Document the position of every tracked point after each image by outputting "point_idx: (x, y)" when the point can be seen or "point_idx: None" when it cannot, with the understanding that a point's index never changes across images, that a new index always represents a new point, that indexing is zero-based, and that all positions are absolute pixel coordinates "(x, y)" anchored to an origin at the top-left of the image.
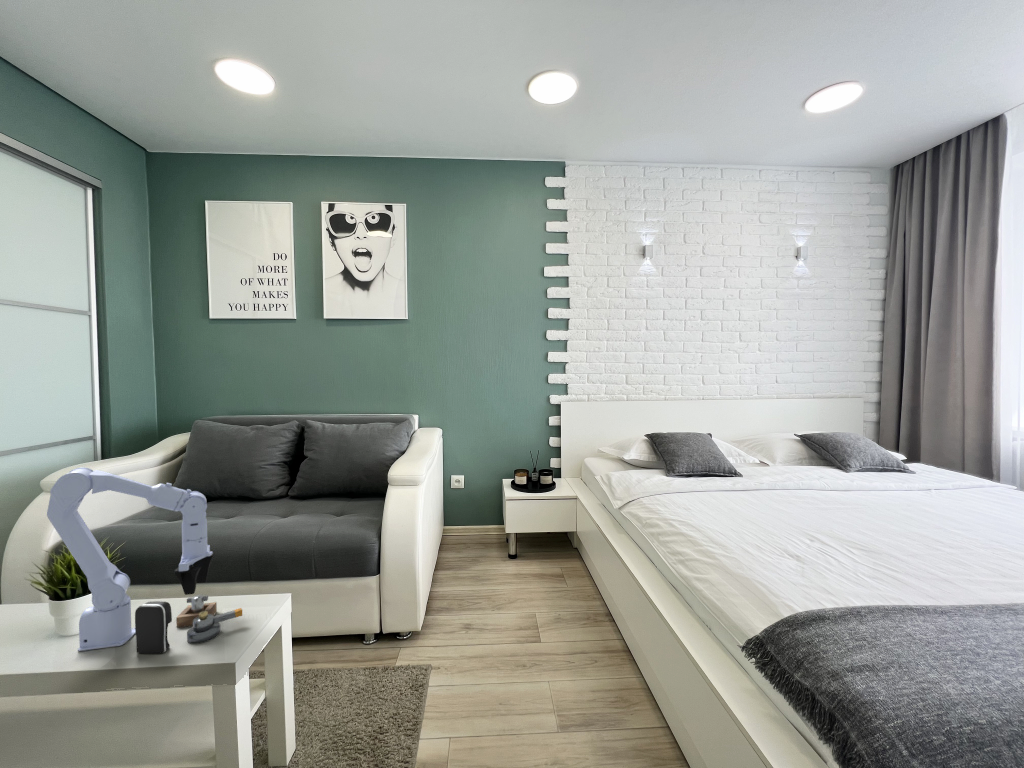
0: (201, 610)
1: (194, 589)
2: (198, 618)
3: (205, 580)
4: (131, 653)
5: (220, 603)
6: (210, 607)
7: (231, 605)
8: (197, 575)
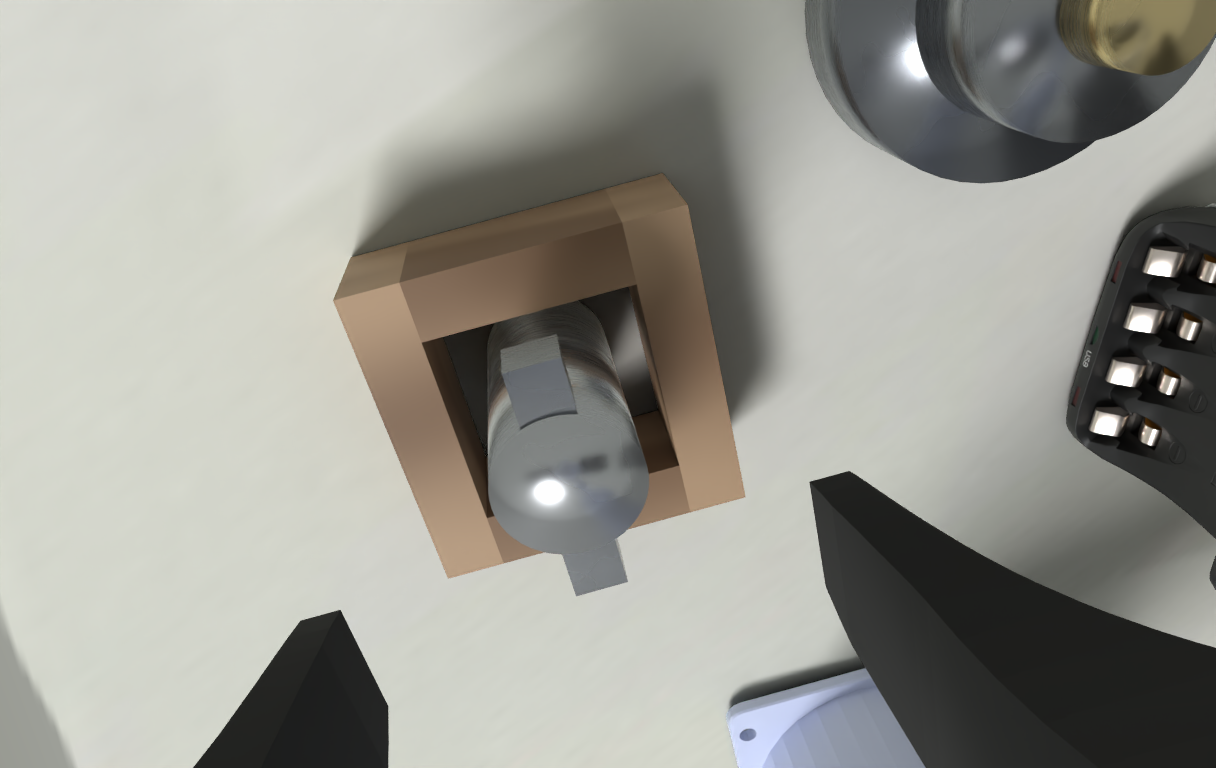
0: (578, 338)
1: (887, 497)
2: (1085, 87)
3: (337, 628)
4: (1116, 485)
5: (134, 353)
6: (499, 273)
7: (161, 165)
8: (996, 659)
